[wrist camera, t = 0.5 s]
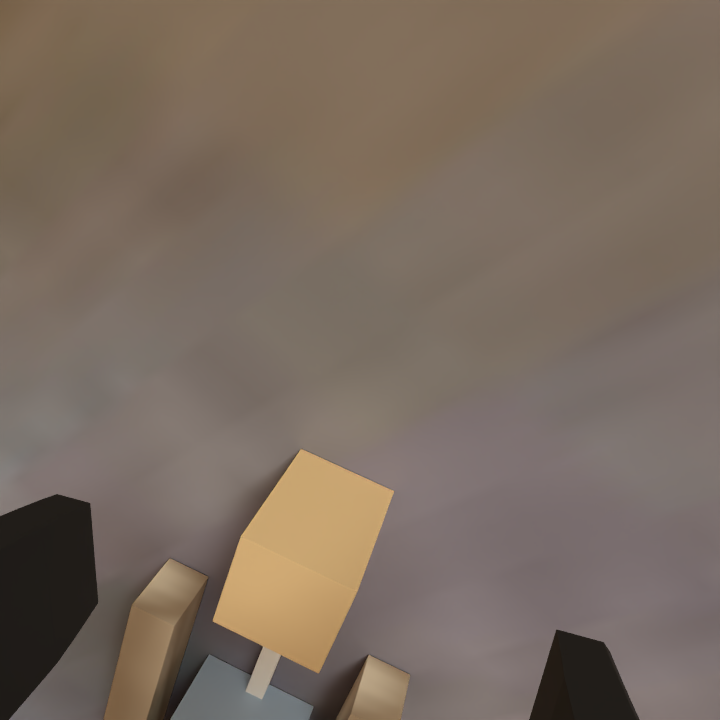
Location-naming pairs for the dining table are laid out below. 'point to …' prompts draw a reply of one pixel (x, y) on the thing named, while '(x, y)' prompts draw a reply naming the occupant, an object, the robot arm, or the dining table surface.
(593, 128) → the dining table surface
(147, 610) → the lane
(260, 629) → the tethered block
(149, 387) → the dining table surface
